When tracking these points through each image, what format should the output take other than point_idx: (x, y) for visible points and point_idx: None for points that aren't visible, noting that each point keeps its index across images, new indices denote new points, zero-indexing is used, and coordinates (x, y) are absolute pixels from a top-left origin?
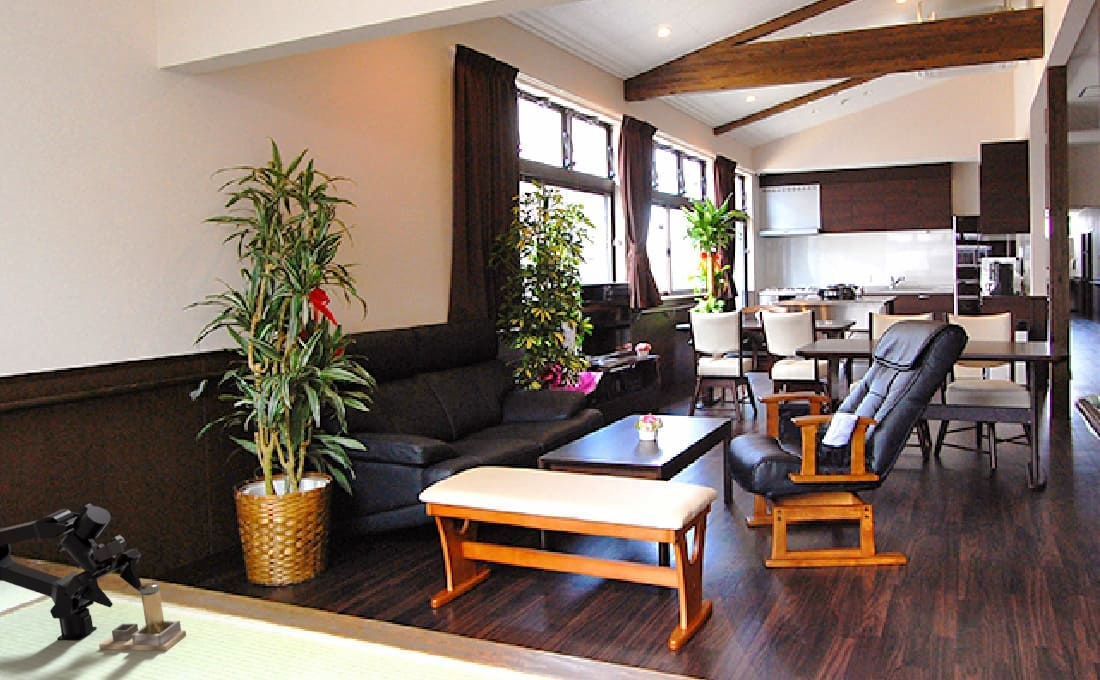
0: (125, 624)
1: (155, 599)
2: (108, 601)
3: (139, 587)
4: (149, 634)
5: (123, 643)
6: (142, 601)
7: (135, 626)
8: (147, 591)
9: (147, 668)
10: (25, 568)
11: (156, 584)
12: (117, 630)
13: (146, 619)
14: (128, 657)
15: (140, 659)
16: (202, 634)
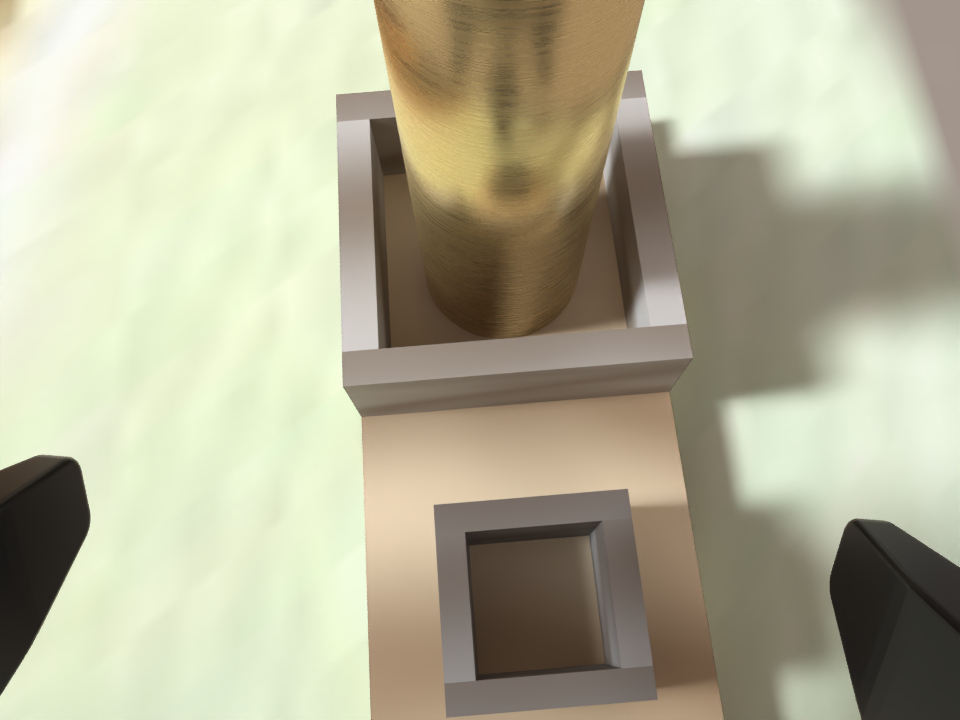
0: (467, 652)
1: None
2: (949, 570)
3: (51, 498)
4: (644, 181)
5: (663, 519)
6: (627, 31)
7: (471, 504)
8: None
9: (871, 96)
10: None
11: None
12: (629, 629)
13: (602, 169)
14: (771, 368)
15: (772, 242)
16: (321, 51)
